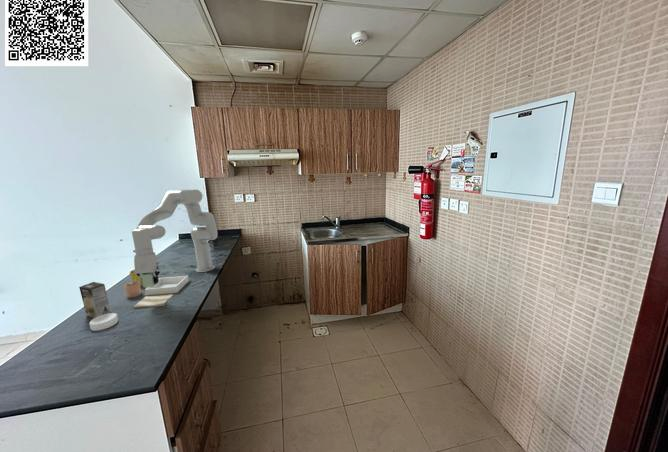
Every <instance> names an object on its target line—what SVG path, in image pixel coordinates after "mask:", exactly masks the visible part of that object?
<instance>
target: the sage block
mask: <svg viewBox="0 0 668 452" xmlns="http://www.w3.org/2000/svg"><path fill="white" fill-rule="evenodd" d="M153 277H154V276H153V274H152V273H143V274H142V275H141V278H142V283H143V285H142V287H143V288H147V287H154V286H155V285H156V284H157V283H156V284H154V281H153Z"/></svg>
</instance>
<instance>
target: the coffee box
mask: <svg viewBox="0 0 668 452" xmlns="http://www.w3.org/2000/svg"><path fill="white" fill-rule="evenodd" d="M78 288H79V292H80V297H81V299H82V303H83V307H84V312H85V314H86V317H88V318H89V317H90V318H92V319H94V318H96V317H98V316H101V315H104V314H108V313H111V306H110V302H109V299H108V294H107V289H106V285H105V283H102V282H96V281H92V282H89V283H87V284H84V285H81V286H79V287H78Z"/></svg>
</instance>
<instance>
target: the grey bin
mask: <svg viewBox="0 0 668 452" xmlns="http://www.w3.org/2000/svg"><path fill="white" fill-rule="evenodd" d="M158 279H159V281H158V283H157V284H156V285H155V286H154V287H145V289H144V295H145V297H146V296H155V295H166V294H178V292H179V291H181V289H182V288H183V287H185V286H186V285H187V284H188V283H189V281H190V280H189V279H190V278H189V275H180V276H179V275H178V276H168V277H167V276H166V277H158Z"/></svg>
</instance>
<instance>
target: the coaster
mask: <svg viewBox="0 0 668 452" xmlns="http://www.w3.org/2000/svg"><path fill="white" fill-rule="evenodd" d="M118 321H119V319H118V314H117V313H114V312H112V313H108V314H104V315H101V316H98V317H96V318H92V319H91V320H90V321H89V328H90V330H91V331H93V332H95V331H102V330H106V329H108V328H111V327H112V326H114V325H116V324H117V323H118Z"/></svg>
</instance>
